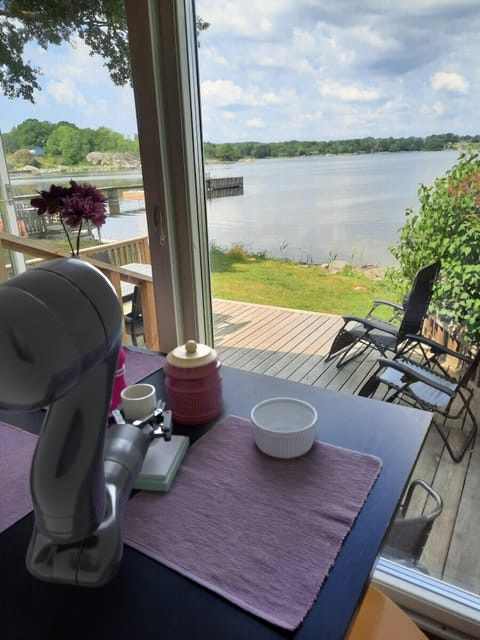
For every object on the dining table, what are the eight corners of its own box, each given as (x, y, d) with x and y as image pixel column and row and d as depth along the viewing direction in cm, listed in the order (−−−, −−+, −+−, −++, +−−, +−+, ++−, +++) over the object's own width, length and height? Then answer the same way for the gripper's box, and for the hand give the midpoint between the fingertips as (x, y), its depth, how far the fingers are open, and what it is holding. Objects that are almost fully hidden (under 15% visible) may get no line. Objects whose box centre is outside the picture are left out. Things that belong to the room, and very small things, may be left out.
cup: (122, 447, 80) (115, 399, 77) (135, 429, 85) (129, 383, 82) (153, 450, 79) (147, 400, 76) (164, 431, 84) (159, 384, 81)
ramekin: (269, 419, 98) (269, 391, 95) (326, 435, 91) (327, 405, 89) (239, 452, 87) (238, 421, 85) (302, 472, 81) (302, 440, 78)
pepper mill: (122, 410, 104) (111, 330, 97) (143, 419, 100) (133, 337, 93) (97, 424, 98) (83, 341, 92) (118, 434, 94) (105, 348, 88)
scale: (82, 486, 79) (79, 472, 78) (115, 440, 92) (113, 428, 91) (167, 494, 77) (166, 479, 76) (189, 445, 90) (188, 433, 89)
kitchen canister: (187, 393, 110) (181, 327, 104) (233, 403, 105) (230, 334, 99) (156, 420, 99) (148, 347, 93) (206, 432, 94) (201, 356, 88)
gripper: (162, 438, 65) (180, 385, 81) (66, 440, 66) (102, 387, 81) (167, 480, 68) (183, 420, 83) (74, 481, 68) (108, 422, 84)
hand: (143, 404), depth 82 cm, fingers closed on cup, 6 cm apart
